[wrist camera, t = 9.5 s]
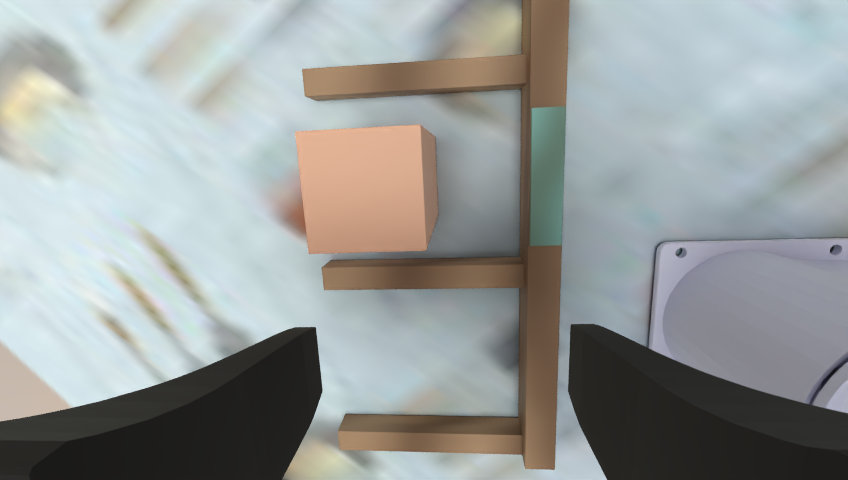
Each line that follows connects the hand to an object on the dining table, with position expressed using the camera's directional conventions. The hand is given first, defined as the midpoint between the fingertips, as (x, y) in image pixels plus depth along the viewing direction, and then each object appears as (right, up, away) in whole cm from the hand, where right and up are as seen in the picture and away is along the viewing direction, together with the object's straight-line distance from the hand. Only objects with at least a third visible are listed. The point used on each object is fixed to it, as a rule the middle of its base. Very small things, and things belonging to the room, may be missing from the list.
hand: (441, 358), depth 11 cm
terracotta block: (-2, +7, +9) cm, 12 cm away
